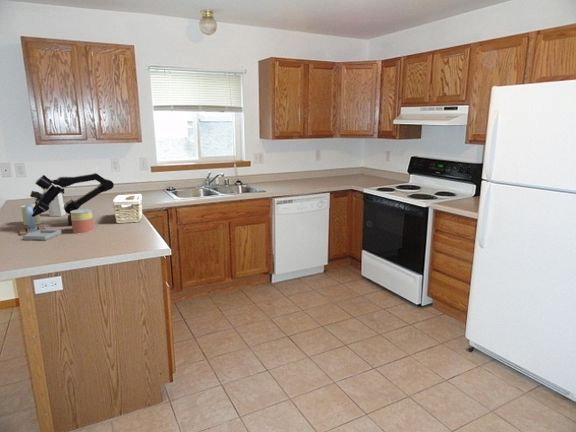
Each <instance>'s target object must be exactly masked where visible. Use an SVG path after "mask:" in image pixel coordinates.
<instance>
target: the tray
mask: <svg viewBox="0 0 576 432" xmlns="http://www.w3.org/2000/svg"><path fill="white" fill-rule="evenodd" d="M60 235H63V232H62V230H61V229H45V230H39V229H38V230H37V231H35V232H28V233H26V235H22V239H23V241H43V242H44V241H48V240H51V239H53V238H55V237H57V236H60Z"/></svg>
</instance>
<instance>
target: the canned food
mask: <svg viewBox="0 0 576 432" xmlns="http://www.w3.org/2000/svg"><path fill="white" fill-rule="evenodd" d="M70 213H71V220H72V226H71V227H72V233H73V234H77V233H81V234H88V233H91V232H93V231H95V226H94V216H93V209H92V208H78V209H77V210H73V211H71V212H70Z"/></svg>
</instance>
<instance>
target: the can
mask: <svg viewBox="0 0 576 432" xmlns="http://www.w3.org/2000/svg"><path fill="white" fill-rule="evenodd" d="M26 205H27V204H25V205H21V206H20V209H21V215H22V220H23V226H28V223H27V217H26V211H25V206H26ZM28 205H32V208H34V206H35V203H33V204H30V203H29V204H28ZM40 215H41V214H39V215H36V216H34V220H35V226H37V225H39V224H41V223H42V222H41V217H40Z"/></svg>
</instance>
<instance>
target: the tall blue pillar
mask: <svg viewBox="0 0 576 432" xmlns="http://www.w3.org/2000/svg"><path fill="white" fill-rule="evenodd" d="M25 205H26V206H25V211H26V217H27V223H28V225H27V227H26V228H27V230H26V233H32V232H35V231H37V230H39V228H37V226H38V225H35V220H34V217H32V214H33V208H32V205H29V204H25Z"/></svg>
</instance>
